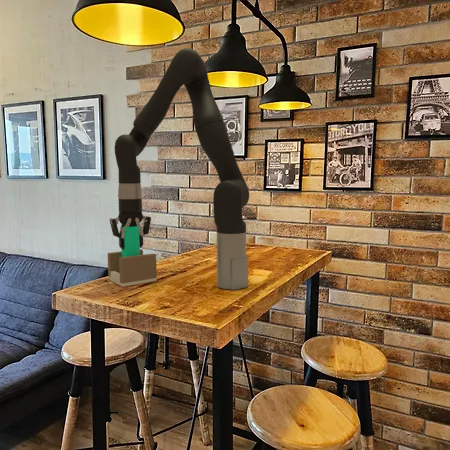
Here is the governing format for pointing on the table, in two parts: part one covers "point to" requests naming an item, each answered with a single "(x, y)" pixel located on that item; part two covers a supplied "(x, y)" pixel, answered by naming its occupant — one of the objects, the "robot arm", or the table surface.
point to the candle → (131, 241)
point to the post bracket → (131, 268)
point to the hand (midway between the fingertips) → (131, 248)
